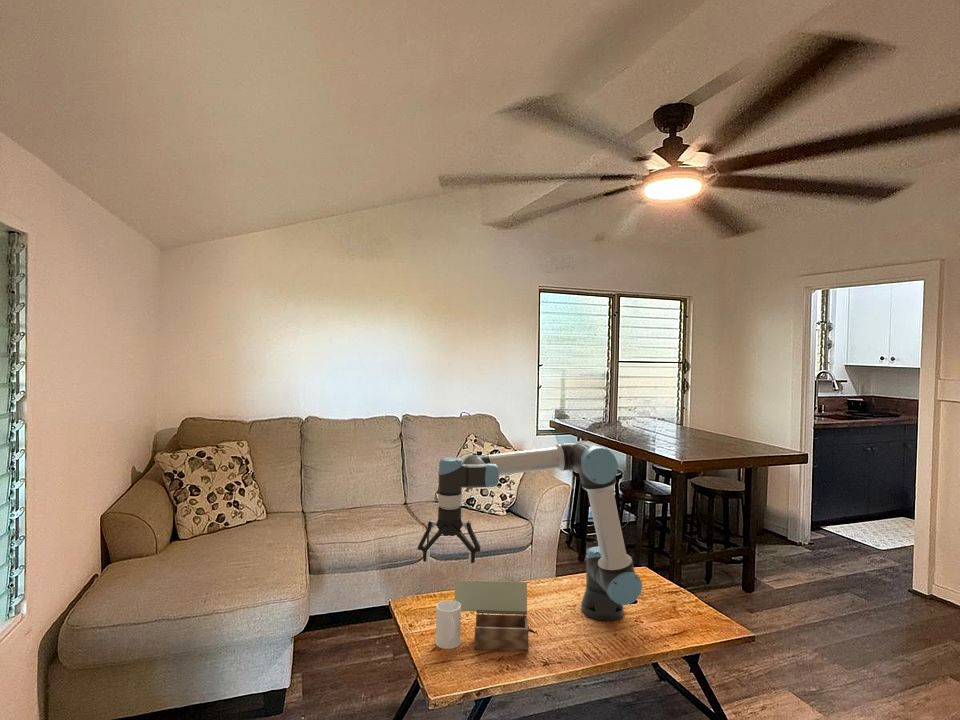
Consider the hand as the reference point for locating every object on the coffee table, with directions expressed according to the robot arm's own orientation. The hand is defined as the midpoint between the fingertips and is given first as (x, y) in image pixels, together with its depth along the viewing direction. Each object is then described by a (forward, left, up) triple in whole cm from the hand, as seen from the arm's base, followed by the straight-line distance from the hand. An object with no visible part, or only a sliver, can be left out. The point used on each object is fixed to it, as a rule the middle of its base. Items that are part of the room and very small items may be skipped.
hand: (448, 572), depth 171 cm
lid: (-13, -8, -12) cm, 20 cm away
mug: (0, 0, -24) cm, 24 cm away
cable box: (-17, -2, -24) cm, 29 cm away
